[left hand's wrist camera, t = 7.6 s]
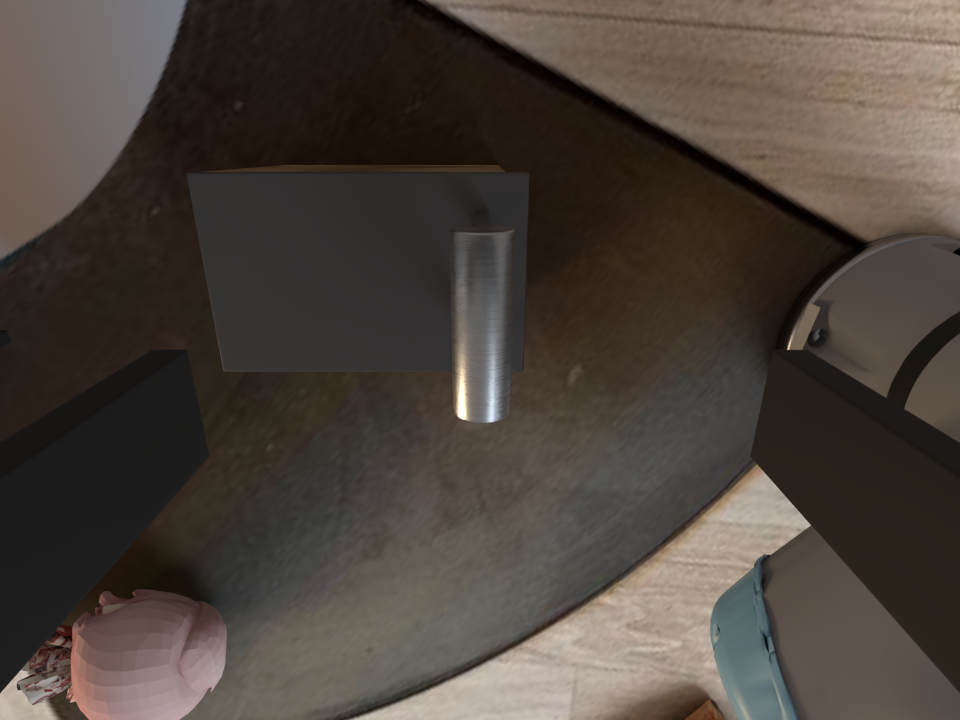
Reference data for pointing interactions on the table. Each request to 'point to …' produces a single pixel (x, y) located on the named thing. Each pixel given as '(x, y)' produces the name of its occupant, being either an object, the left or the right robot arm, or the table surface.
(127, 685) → the toy
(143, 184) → the table surface
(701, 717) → the ceramic shard
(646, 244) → the table surface
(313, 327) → the lid
